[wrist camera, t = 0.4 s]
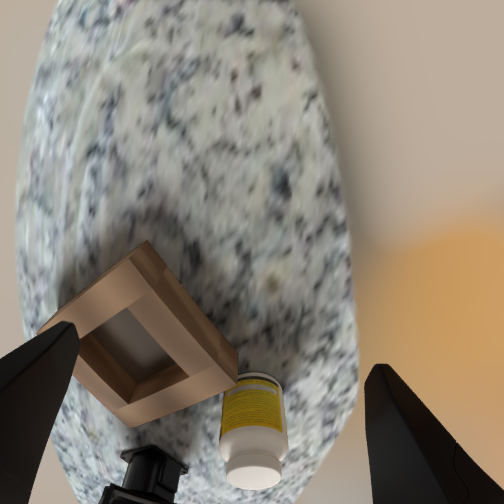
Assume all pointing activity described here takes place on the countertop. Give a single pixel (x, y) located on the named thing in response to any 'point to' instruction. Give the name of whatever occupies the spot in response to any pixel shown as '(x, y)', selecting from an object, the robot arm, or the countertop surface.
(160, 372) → the socket block
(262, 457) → the supplement bottle
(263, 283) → the countertop surface
